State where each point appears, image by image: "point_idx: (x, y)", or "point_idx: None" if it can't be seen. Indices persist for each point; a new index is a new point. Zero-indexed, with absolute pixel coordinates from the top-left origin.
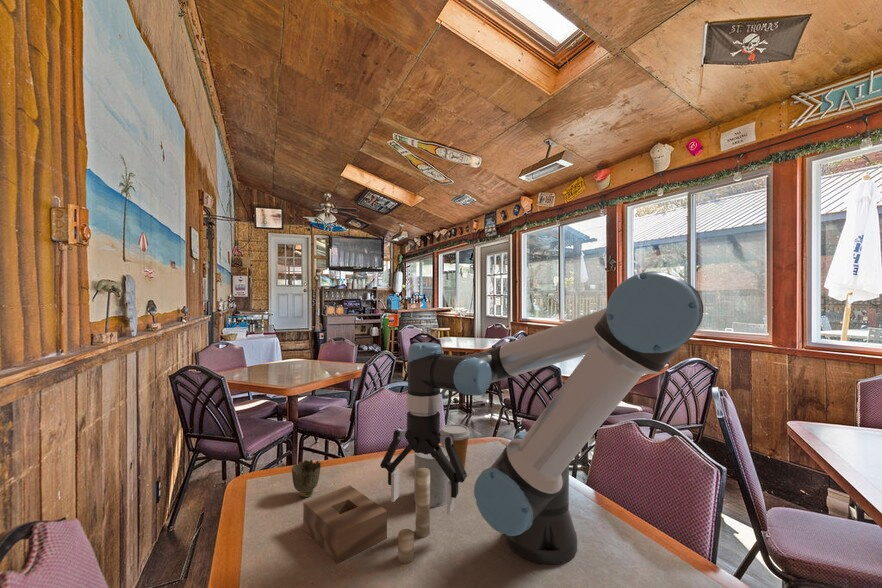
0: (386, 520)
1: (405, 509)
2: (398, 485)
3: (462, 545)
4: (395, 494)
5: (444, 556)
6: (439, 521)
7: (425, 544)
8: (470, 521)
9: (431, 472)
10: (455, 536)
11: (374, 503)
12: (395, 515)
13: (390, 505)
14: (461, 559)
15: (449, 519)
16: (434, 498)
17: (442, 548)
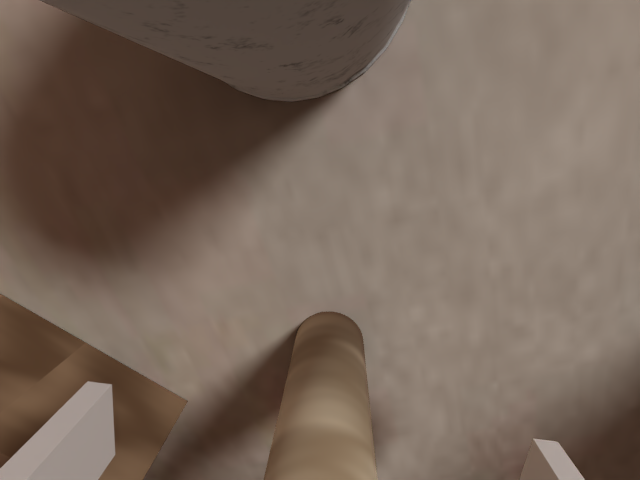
0: (148, 469)
1: (170, 161)
2: (46, 472)
3: (528, 388)
4: (86, 470)
5: (455, 458)
6: (392, 234)
7: None
8: (572, 196)
9: (274, 47)
10: (492, 336)
11: (3, 463)
12: (144, 231)
13: (68, 139)
14: None
15: (446, 203)
16: (330, 81)
17: (440, 419)
